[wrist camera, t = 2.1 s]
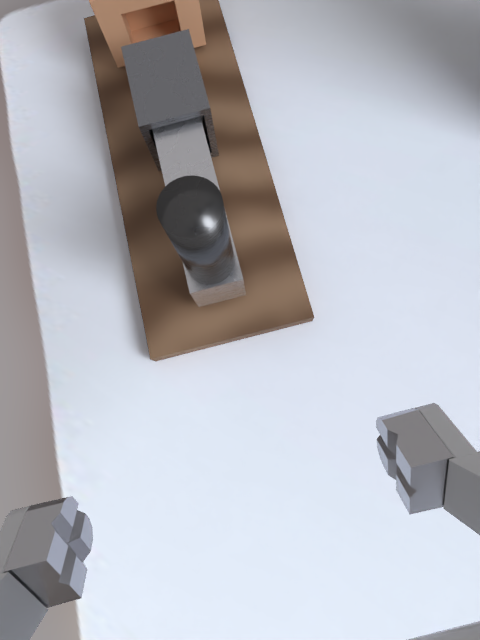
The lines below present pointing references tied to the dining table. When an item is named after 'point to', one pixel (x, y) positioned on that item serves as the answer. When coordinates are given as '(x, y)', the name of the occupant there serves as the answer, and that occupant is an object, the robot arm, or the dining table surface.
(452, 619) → the dining table surface
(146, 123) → the metal sleeve
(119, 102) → the walnut board
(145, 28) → the socket block
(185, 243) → the grey piece
